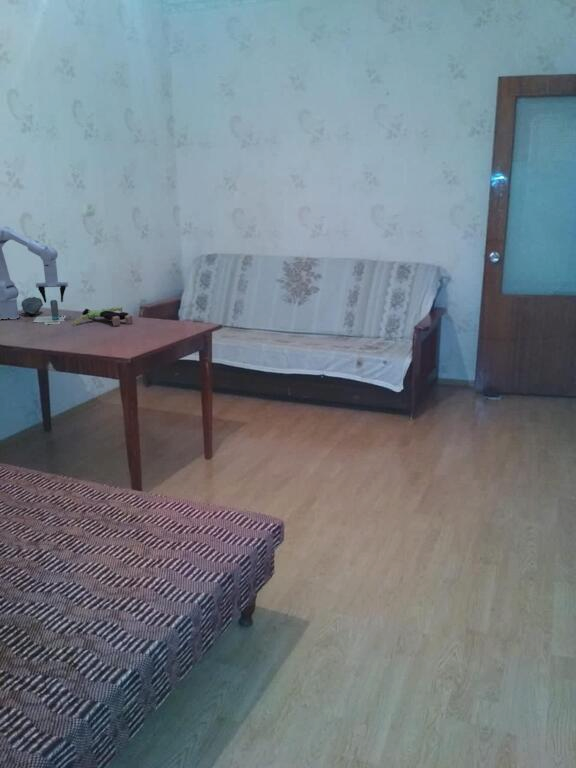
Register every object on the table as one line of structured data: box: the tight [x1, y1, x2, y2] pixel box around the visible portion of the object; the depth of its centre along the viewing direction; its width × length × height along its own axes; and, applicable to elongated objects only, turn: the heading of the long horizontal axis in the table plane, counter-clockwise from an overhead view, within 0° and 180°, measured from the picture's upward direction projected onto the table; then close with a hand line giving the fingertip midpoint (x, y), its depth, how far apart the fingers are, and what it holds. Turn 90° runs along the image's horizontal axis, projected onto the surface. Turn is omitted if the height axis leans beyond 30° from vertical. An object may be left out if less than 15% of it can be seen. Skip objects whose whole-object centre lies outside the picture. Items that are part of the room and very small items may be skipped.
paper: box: [33, 315, 67, 323], centre depth 307 cm, size 14×13×1 cm
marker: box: [49, 299, 60, 321], centre depth 303 cm, size 3×3×10 cm
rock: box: [21, 296, 44, 315], centre depth 319 cm, size 16×8×10 cm
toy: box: [70, 306, 133, 327], centre depth 302 cm, size 32×7×30 cm
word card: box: [43, 321, 61, 326], centre depth 298 cm, size 7×5×1 cm
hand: (53, 301), depth 303 cm, fingers open, 7 cm apart
